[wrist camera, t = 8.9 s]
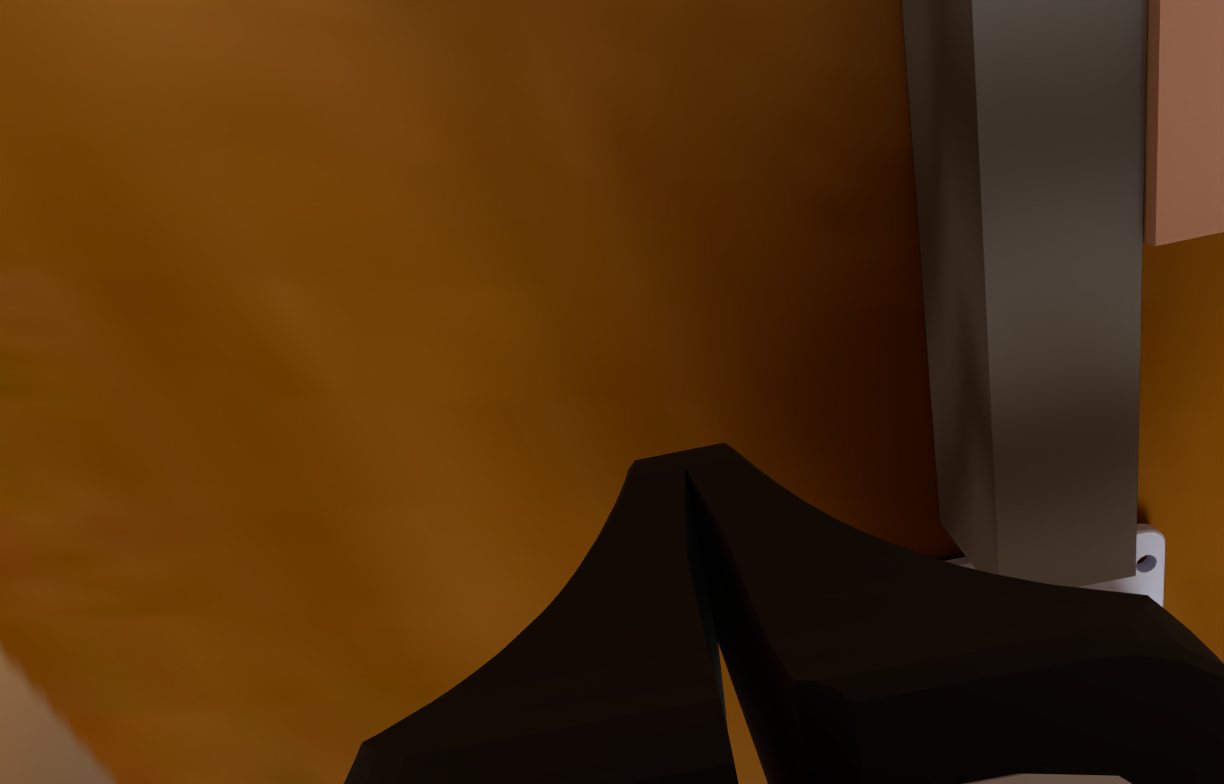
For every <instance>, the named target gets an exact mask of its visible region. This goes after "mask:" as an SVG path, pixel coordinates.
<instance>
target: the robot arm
mask: <svg viewBox="0 0 1224 784" xmlns="http://www.w3.org/2000/svg"><path fill="white" fill-rule="evenodd" d="M1145 555H1147V557H1146V559H1145V560H1144V561H1143V562H1141V563H1139V564H1137V561H1138V560H1139V559H1140V558H1141V557H1143V556H1145ZM1164 564H1165V539H1164V536H1163V535H1162V534H1161V533H1160V532H1159V531H1158V530H1157V529H1156V528H1154V527H1153V526H1151V525H1149V524H1137V541H1136V576H1133V577H1128V578H1122V579H1117V580H1112V581H1107V582H1101V583H1096V584H1091V585H1085V586H1080V587H1069V586H1060V585H1052V584H1046V583H1040V582H1034V581H1029V580H1024V579H1019V578H1014V577H1008V576H1003V575H998V574H993V573H988V572H984V571H980V570H976V569H975V568H974V566H973V565H972V564H971V563H970V561H969V560H968V559H967V557H962V558H957V559H951V560H946V561H943V560H939V559H936V558H933V557H929V556H926V555H923V554H919V553H916V552H913V551H910V550H908V549H905V548H902V547H899V546H896V545H894V544H891V543H889V542H886V541H884V540H881V539H879V538H877V537H874V536H872V535H870V534H867V533H865V532H862V531H860V530H858V529H855V528H853V527H851V526H849V525H847V524H845V523H843V522H841V521H839V520H837V519H835V518H833V517H831V516H830V515H828V514H826V513H824V512H822V511H821V510H819V509H817V508H815V507H813V506H812V505H810V504H808V503H806V502H805V501H803V500H802V499H800V498H798V497H797V496H796V495H794V494H793V493H791V492H790V491H788V490H787V489H785V488H784V487H782V486H781V485H779V484H778V483H776V482H775V481H774V480H772V479H771V478H770V477H768V476H767V475H766V474H764V473H763V472H762V471H760V470H759V469H758V468H757V467H755V466H754V465H753V464H751V463H750V462H749V461H748V460H746V459H745V458H744V457H743V456H742V455H740V454H739V453H738V452H737V451H736V450H734V449H733V448H732V447H730V446H729V445H727V444H726V443H721V444H716V445H711V446H706V447H700V448H695V449H690V450H685V451H680V452H675V453H670V454H665V455H660V456H655V457H650V458H645V459H640V460H635V461H634V463H633V464H632V465H631V467H630V468H629V470H628V473H627V476H626V479H625V482H624V485H623V487H622V490H621V492H620V494H619V496H618V499H617V501H616V503H615V505H614V507H613V509H612V511H611V513H610V515H609V517H608V519H607V521H606V523H605V525H604V527H603V528H602V530H601V532H600V534H599V536H598V538H597V539H596V541H595V542H594V544H593V546H592V547H591V549H590V550H589V552H588V553H587V555H586V557H585V558H584V560H583V561H582V563H581V564H580V566H579V567H578V569H577V571H576V572H575V573H574V575H573V576H572V577H571V579H570V580H569V582H568V583H567V584H566V586H565V587H564V588H563V589H562V591H561V592H560V593H559V594H558V595H557V597H556V598H555V599H554V600H553V601H552V602H551V604H550V605H549V606H548V607H547V608H546V609H545V610H544V611H543V612H542V613H541V614H540V615H539V616H538V617H537V618H536V619H535V620H534V621H533V622H532V623H531V624H530V625H529V626H527V627H526V628H525V629H524V630H523V631H522V632H521V633H520V634H519V635H518V636H517V637H516V638H515V639H514V640H513V641H512V642H511V643H509V644H508V645H507V646H506V647H505V648H504V649H503V650H502V651H501V652H499V653H498V654H497V655H496V656H495V657H493V658H492V659H491V660H490V661H488V662H487V663H486V664H485V665H483V666H482V667H481V668H479V669H478V670H477V671H476V672H474V673H473V674H472V675H470V676H469V677H467V678H466V679H465V680H463V681H462V682H460V683H459V684H458V685H456V686H455V687H454V688H452V689H451V690H449V691H448V692H446V693H445V694H443V695H442V696H440V697H439V698H437V699H436V700H434V701H433V702H431V703H430V704H428V705H426V706H425V707H423V708H421V709H420V710H418V711H416V712H414V713H413V714H411V715H409V716H408V717H406V718H404V719H403V720H401V721H399V722H398V723H396V724H394V725H393V726H391V727H389V728H388V729H386V730H384V731H383V732H381V733H379V734H377V735H376V736H374V737H372V738H370V739H368V740H366V741H364V742H363V743H362V744H361V746H360V749H359V751H358V754H357V756H356V759H355V761H354V763H353V765H352V767H351V770H350V772H349V774H348V776H347V778H346V780H345V782H344V784H738V779H737V774H736V769H735V764H734V759H733V754H732V749H731V744H730V740H729V735H728V729H727V720H726V711H725V702H724V692H723V683H722V674H721V665H720V656H719V647H718V643H719V646H720V649H721V652H722V655H723V658H724V660H725V663H726V666H727V669H728V672H729V675H730V678H731V680H732V683H733V686H734V689H735V692H736V695H737V697H738V700H739V703H740V706H741V709H742V711H743V714H744V717H745V720H746V723H747V726H748V728H749V731H750V734H751V737H752V740H753V743H754V745H755V748H756V751H757V754H758V757H759V759H760V762H761V765H762V768H763V771H764V774H765V776H766V779H767V783H768V784H1224V664H1223V663H1222V662H1221V660H1220V659H1219V658H1218V657H1217V656H1216V655H1215V654H1214V653H1213V652H1212V651H1211V650H1210V649H1209V648H1208V647H1207V646H1206V645H1205V644H1204V643H1203V642H1202V641H1201V640H1200V639H1199V638H1197V637H1196V636H1195V635H1194V634H1193V633H1192V632H1191V631H1190V630H1189V629H1188V628H1187V627H1185V626H1184V625H1183V624H1182V623H1181V622H1179V621H1178V620H1177V619H1176V618H1175V617H1174V616H1172V615H1171V614H1170V613H1169V612H1168V611H1166V610H1165V609H1164V608H1163V593H1164Z"/></svg>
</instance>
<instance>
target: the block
mask: <svg viewBox="0 0 1224 784" xmlns="http://www.w3.org/2000/svg"><path fill="white" fill-rule="evenodd" d="M1221 232H1224V0H1147V33H1146V84H1145V135H1144V185H1143V236H1142V242H1145V243H1148V244H1151V245H1154V246H1159V245H1164V244H1169V243H1174V242H1178V241H1183V240H1188V239H1193V238H1197V237H1202V236H1207V235H1212V234H1217V233H1221Z"/></svg>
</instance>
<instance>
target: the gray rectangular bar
mask: <svg viewBox="0 0 1224 784" xmlns="http://www.w3.org/2000/svg"><path fill="white" fill-rule="evenodd" d="M902 13H903V26H904V40H905V53H906V67H907V80H908V94H909V107H910V121H911V135H912V148H913V162H914V175H915V189H916V202H917V216H918V229H919V243H920V256H921V270H922V284H923V297H924V311H925V324H926V338H927V351H928V365H929V378H930V392H931V405H932V419H933V433H934V446H935V460H936V473H937V487H938V500H939V514H940V523H941V524H942V526H943V527H944V528H945V530H946V531H947V532H948V534H949V535H950V536H951V538H952V539H953V540H954V542H955V543H956V544H957V545H958V547H959V548H960V549H961V551H962V552H963V553H964V555H965V556H966V557H967V559H968V560H969V561H970V563H971V564H972V565H973V566H974V568H975V569H976V570H980V571H984V572H988V573H993V574H998V575H1003V576H1008V577H1014V578H1019V579H1024V580H1029V581H1034V582H1040V583H1046V584H1052V585H1060V586H1069V587H1080V586H1085V585H1091V584H1096V583H1101V582H1107V581H1112V580H1117V579H1122V578H1128V577H1133V576H1136V541H1137V490H1138V439H1139V389H1140V338H1141V287H1142V236H1143V185H1144V135H1145V84H1146V33H1147V0H902Z"/></svg>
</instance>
